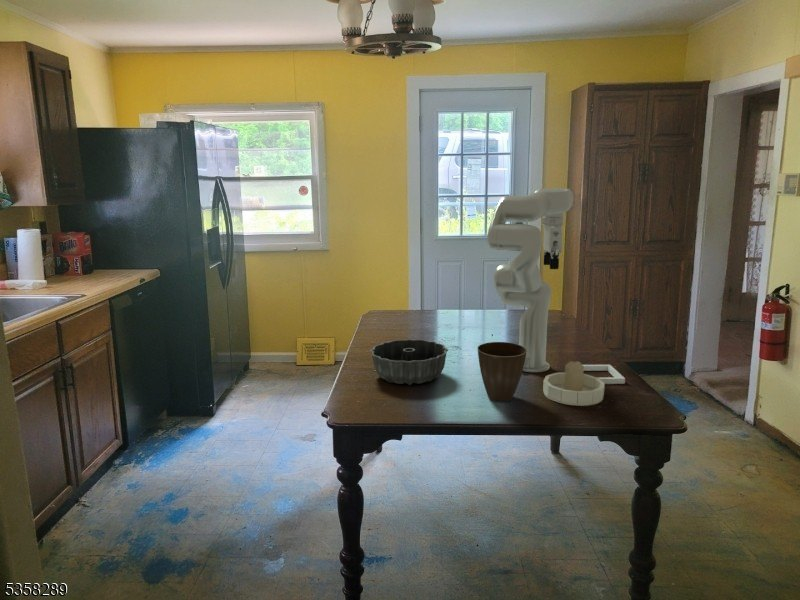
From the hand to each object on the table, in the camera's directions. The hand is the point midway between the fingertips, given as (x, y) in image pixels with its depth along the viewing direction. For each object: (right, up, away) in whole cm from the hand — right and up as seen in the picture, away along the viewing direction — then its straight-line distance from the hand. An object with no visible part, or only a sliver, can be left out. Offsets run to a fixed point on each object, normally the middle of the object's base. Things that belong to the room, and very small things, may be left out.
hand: (550, 266), depth 223 cm
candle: (-3, -42, -38) cm, 57 cm away
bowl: (-3, -43, -38) cm, 57 cm away
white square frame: (+10, -39, -22) cm, 46 cm away
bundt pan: (-54, -39, -20) cm, 70 cm away
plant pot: (-26, -43, -40) cm, 65 cm away
